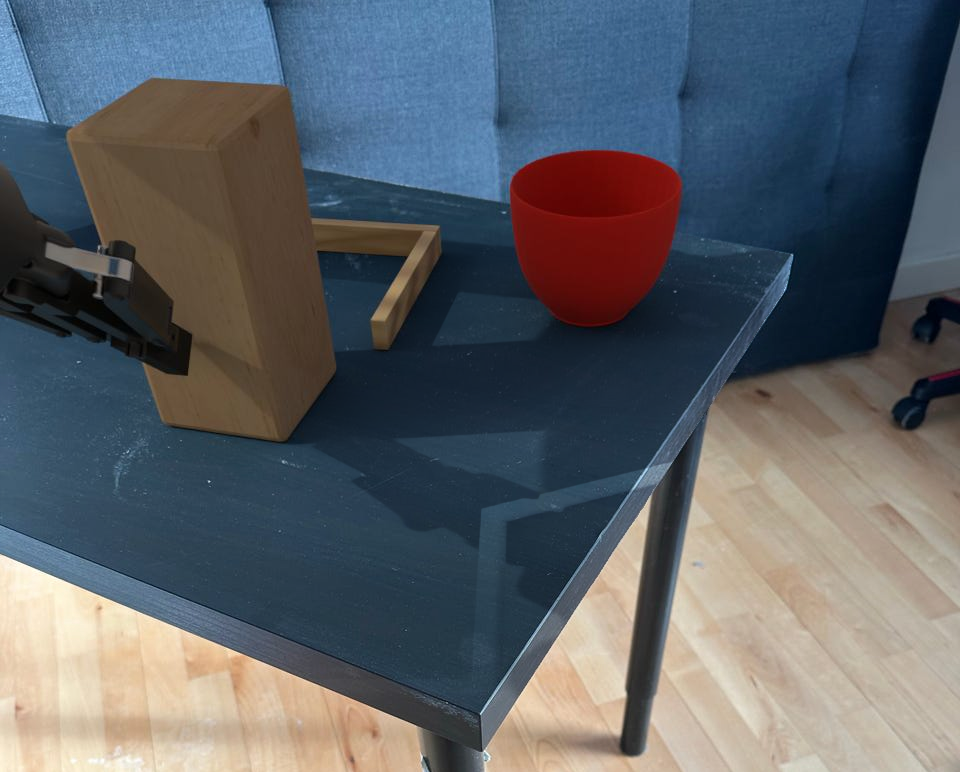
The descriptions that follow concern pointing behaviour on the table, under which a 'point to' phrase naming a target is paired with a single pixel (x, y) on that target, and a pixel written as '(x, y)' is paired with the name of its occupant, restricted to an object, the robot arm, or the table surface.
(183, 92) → the wooden block
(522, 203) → the ceramic cup
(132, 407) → the table surface
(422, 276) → the frame
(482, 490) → the table surface
